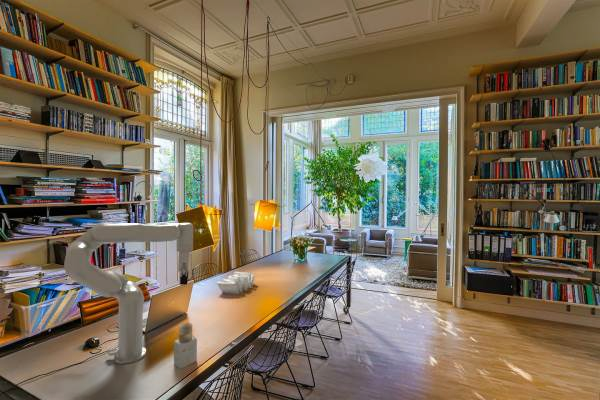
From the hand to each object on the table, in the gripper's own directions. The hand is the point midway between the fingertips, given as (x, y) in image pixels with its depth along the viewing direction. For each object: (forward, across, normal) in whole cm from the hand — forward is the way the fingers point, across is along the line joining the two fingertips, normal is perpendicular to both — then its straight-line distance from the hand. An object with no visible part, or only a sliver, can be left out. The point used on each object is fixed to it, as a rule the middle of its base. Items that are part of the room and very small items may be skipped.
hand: (184, 281), depth 145 cm
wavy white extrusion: (+31, -72, +35) cm, 86 cm away
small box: (+31, +20, +2) cm, 37 cm away
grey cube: (+20, +20, +2) cm, 28 cm away
